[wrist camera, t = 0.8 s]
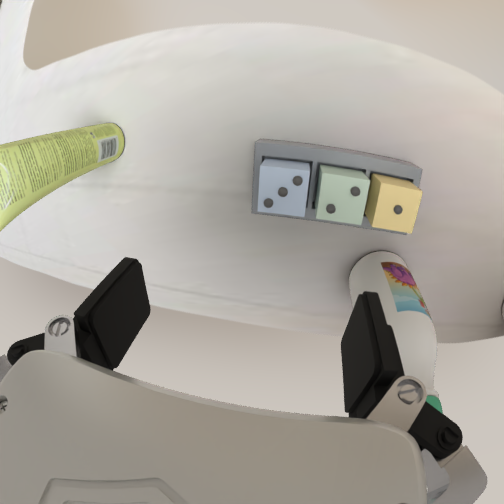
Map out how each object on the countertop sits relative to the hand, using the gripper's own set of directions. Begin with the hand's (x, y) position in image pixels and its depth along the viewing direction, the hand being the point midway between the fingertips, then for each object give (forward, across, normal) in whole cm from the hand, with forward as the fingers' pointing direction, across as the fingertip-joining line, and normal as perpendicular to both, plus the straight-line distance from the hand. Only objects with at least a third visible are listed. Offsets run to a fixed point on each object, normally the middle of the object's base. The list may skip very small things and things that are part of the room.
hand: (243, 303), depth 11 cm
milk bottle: (+19, -13, +10) cm, 25 cm away
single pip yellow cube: (+17, -11, -1) cm, 20 cm away
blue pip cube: (+17, -1, -1) cm, 17 cm away
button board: (+19, -6, -1) cm, 20 cm away
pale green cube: (+17, -6, -1) cm, 18 cm away
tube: (+20, +21, -4) cm, 29 cm away
